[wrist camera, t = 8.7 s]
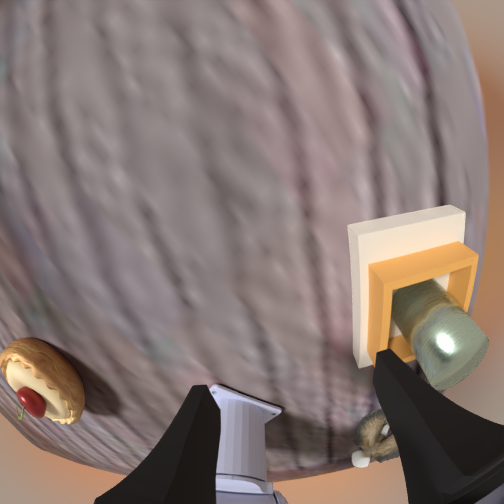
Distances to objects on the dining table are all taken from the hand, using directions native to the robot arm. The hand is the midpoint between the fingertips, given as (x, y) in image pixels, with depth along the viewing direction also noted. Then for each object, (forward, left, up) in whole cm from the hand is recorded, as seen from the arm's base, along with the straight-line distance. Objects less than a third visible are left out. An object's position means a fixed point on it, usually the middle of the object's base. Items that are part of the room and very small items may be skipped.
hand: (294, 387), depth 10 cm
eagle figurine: (-11, -25, -10) cm, 29 cm away
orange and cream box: (+5, -9, -9) cm, 14 cm away
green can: (+5, -9, -7) cm, 13 cm away
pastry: (-26, +14, -10) cm, 31 cm away
